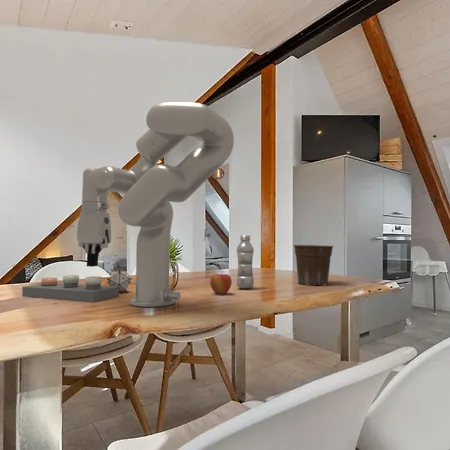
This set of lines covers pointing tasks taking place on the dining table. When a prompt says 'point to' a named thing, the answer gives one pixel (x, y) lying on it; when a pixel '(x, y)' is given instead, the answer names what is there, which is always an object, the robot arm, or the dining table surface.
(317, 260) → the plant pot
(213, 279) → the apple
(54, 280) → the terracotta button
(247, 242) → the plastic bottle
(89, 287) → the cream button
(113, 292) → the board
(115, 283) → the game die
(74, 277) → the sage button
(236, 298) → the dining table surface
